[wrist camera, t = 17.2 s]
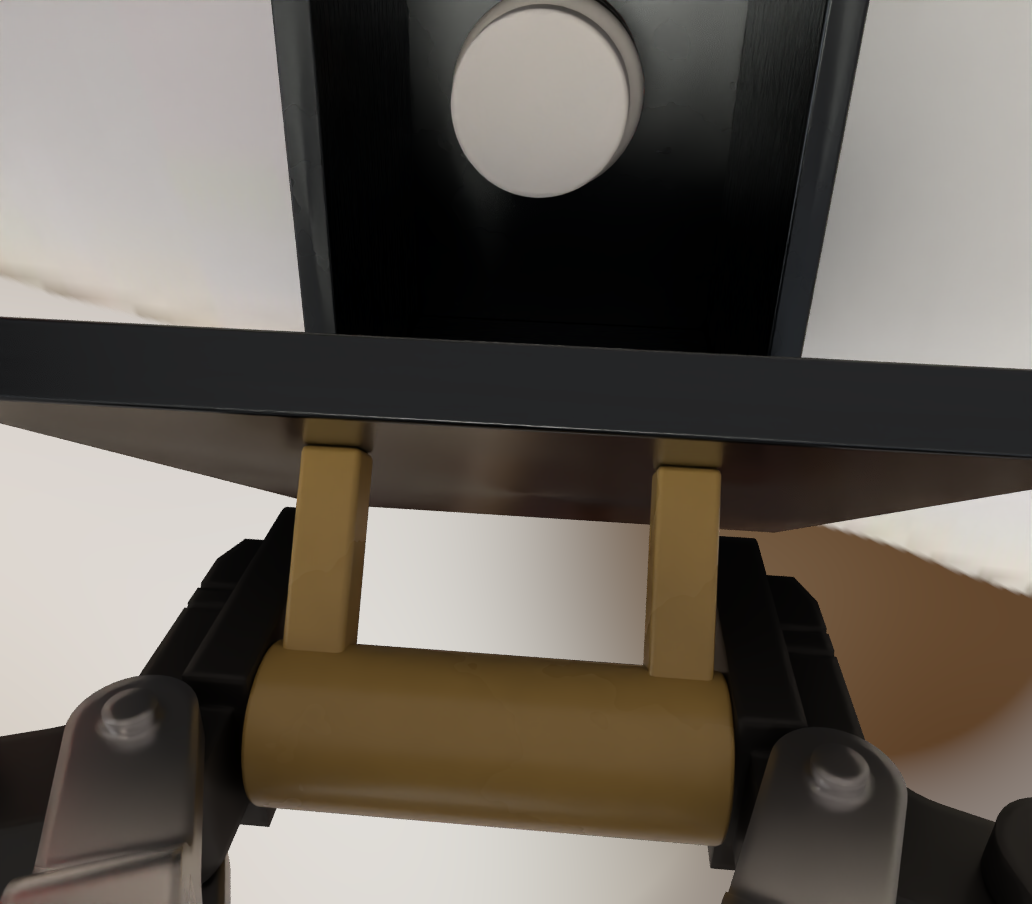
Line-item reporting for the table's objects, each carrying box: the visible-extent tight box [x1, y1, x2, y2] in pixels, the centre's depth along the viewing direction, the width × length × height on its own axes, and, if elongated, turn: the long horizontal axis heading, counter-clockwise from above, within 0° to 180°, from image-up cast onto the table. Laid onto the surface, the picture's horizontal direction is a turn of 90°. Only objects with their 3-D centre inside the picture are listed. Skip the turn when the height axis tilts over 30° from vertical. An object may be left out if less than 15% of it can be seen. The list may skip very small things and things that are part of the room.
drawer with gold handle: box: [0, 317, 1032, 846], centre depth 15 cm, size 14×12×5 cm
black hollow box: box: [271, 0, 870, 358], centre depth 24 cm, size 14×12×11 cm
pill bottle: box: [451, 0, 644, 198], centre depth 23 cm, size 5×5×8 cm
